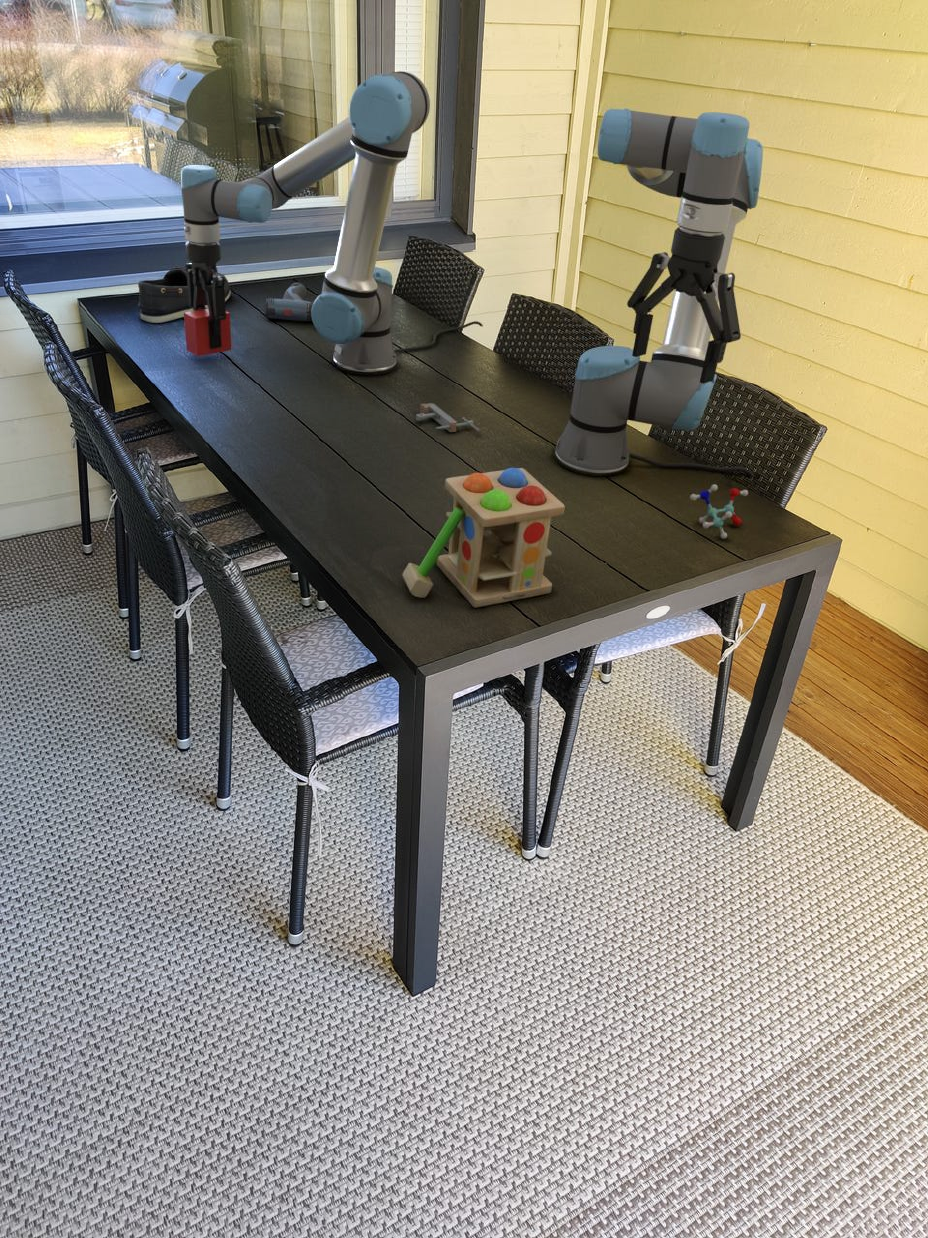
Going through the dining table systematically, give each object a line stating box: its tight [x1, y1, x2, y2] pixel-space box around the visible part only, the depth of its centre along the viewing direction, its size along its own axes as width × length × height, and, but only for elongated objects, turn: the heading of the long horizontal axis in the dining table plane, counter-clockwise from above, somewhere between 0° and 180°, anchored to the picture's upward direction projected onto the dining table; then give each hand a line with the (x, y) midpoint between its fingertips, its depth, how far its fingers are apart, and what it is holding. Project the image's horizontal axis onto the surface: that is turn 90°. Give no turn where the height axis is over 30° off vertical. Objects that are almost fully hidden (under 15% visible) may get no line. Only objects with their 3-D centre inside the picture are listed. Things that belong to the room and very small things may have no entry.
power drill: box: [264, 282, 314, 322], centre depth 265 cm, size 5×19×20 cm
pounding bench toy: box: [401, 467, 566, 608], centre depth 155 cm, size 23×14×18 cm, turn 116°
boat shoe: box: [137, 266, 232, 324], centre depth 260 cm, size 13×33×10 cm, turn 147°
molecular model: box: [689, 483, 749, 540], centre depth 181 cm, size 12×10×10 cm
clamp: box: [415, 402, 482, 434], centre depth 211 cm, size 15×2×10 cm
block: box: [183, 308, 232, 357], centre depth 230 cm, size 5×9×9 cm, turn 133°
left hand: (209, 343), depth 232 cm, fingers closed on block, 5 cm apart
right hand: (671, 368), depth 158 cm, fingers open, 13 cm apart
